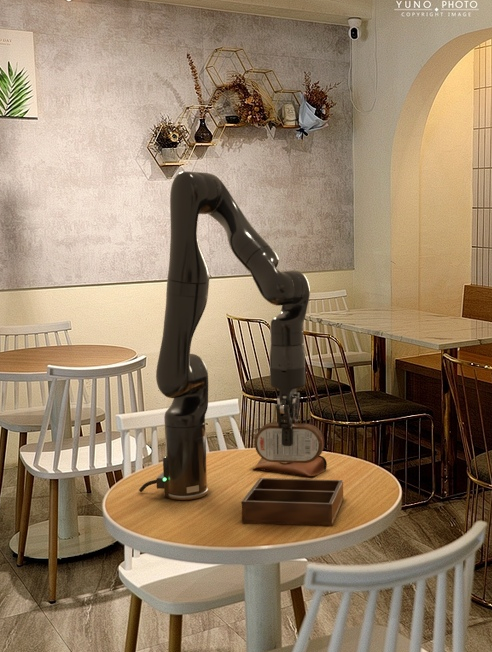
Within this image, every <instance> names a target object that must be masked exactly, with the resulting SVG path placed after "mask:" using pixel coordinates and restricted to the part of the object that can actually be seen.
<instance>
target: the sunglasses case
mask: <svg viewBox="0 0 492 652" xmlns="http://www.w3.org/2000/svg"><path fill="white" fill-rule="evenodd" d="M327 467H328V463H327V459H326V457H324V456H322V455H320V456H318V457H317V458H316V459H315V460H314V461H312V462H309V463H287V462H269V461H266V460H264V459H263V458H262V457H260V460H259V461H258V462H257V464H256V465H255V466H254V467H253V468H252V470H257V471H258V470H259V471H266V472H270V473H271V472H272V473H279V474H284V475H289V476H290V475H291V476H299V477H315V476H318V475H320V474H323V473H324V472H326V470H327Z"/></svg>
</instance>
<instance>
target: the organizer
mask: <svg viewBox="0 0 492 652" xmlns="http://www.w3.org/2000/svg"><path fill="white" fill-rule="evenodd" d="M343 502H344V480H342V479H311V478H309V479H308V478H279V477H278V478H275V477H259V478H258V479H257V481H255V483H254V485H252V487H251V489H249V491H248V492H247V494H246V495H245V496H244V498H243V499H242V500H241V503H240V504H241V505H240V506H241V524H260V525H261V524H265V525H292V526H294V525H297V526H327V527H333V525H334V523H335V521H336V518H337V516H338V514H339V511H340V509H341V506H342V504H343Z"/></svg>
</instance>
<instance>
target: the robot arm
mask: <svg viewBox="0 0 492 652" xmlns="http://www.w3.org/2000/svg"><path fill="white" fill-rule="evenodd" d="M169 193H170V194H169V195H170V196H169V212H170V213H169V214H170V215H169V216H170V217H169V218H170V242H169V258H168V259H169V261H168V270H167V280H166V293H165V311H164V317H163V318H164V319H163V329H162V338H161V342H160V343H161V344H160V349H159V353H158V359H157V364H156V370H155V380H156V385H157V388H158V389H159V391H160V393H161V394H162V395H163V396H164V397H166V398H168V399H172V402H171V404H170V406H169V407H168V409H167V410H165V412H164V419H163V420H164V441H165V443H164V444H165V456H164V457H162V470H163V472H162V473H160V474H159V475H158V476H157V477H156V479H153V480H149V481H147V482H145V483H144V484H143V485H141V487H140V488H139V489H138V491H139V493H143V492H144V490H145V489H146V488H147V487H149V486H151V485H155V484H156V490H157V489H158V490H163V497H164V498H167V499H171V500H175V501H192V500H197V499H200V498H203V497H205V496H206V495H208V493H209V487H208V474H207V473H208V472H207V471H208V470H207V469H208V467H207V466H208V465H207V442H206V439H207V438H206V437H207V436H206V414H207V412H208V408H209V407H208V406H209V372H208V368H207V365H206V362H205V361H204V360H203V359H202V357H200V356H199V355H197V354H194V353H191V346H192V340H193V337H194V335H195V332H196V330H197V327H198V325H199V323H200V321H201V318H202V317H203V315H204V312H205V310H206V307H207V304H208V298H209V297H208V296H209V287H210V269H209V266H208V264H207V261H206V258H205V255H204V254H203V252H202V248H201V246H200V242H199V238H198V225H199V224H198V222H199V215H209V216H210V217H211V218H213V219H214V220H215V221H216V222H217V223H219V225H220V226H221V227H222V228H223V230H224V233H225V235H226V238H227V242H228V246H229V249H230V250H231V252H232V254H233V256H234V257H235V258H236V259H237V260H238V261H239V262H240V264H241V265H242V266H243V268H245V269H246V270H247V271H248V272H249V273H250V275H251V277H252V280H253V282H254V283H255V286H256V288H257V289H258V291H259V294H260V295H261V297H262V298H263V299H264V300H265V301H266V302H268V303H269V304H270V305H273V306H281V308H280V312H279V314H277V315H276V316H274V317H272V319H271V320H270V323H269V324H270V325H269V334H270V335H269V336H270V339H269V340H270V346H269V347H270V348H269V383H270V384H269V385H270V387H271V388H273V389H275V390H276V389H277V390H279V395H278V396H277V398H276V400H277V401H276V403H277V404H276V406H275V411H276V417H277V418H276V419H277V423H278V426H279V428H281V429H282V445H283V446H292V444H293V423H298V419H299V417H300V414H299V412H300V397H301V394H300V392H299V391H297V390H298V389H301V388H304V387H305V386H306V382H307V381H306V351H305V344H304V342H305V341H304V340H305V339H304V338H305V337H304V336H305V335H304V322H305V318H306V315H307V311H308V310H307V309H308V306H309V301H310V296H311V289H310V283H309V280H308V277H307V276H306V275H305V274H304V272H302V271H300V270H295V269H293V270H285V271H280V270H279V269H278V268H277V267H278V265H279V261H280V258H279V256H278V253H276V251H275V250H274V249H273V248H272V247H271V245H270V244H269V243H268V242H267V241H266V240H265V239H264V238H263V237H262V236H261V235H260V233H258V231H257V230H256V229H255V228H254V227H253V225H252V224H251V223H250V222H249V220H248V219H247V217H246V216H245V215H244V213H243V211H242V210H241V209H240V207H239V205H238V204H237V202H236V201H235V199H234V198H233V196H232V194H231V193H230V191H229V190H228V188H227V187H226V185H225V184H224V182H223V181H222V180H221V179H220V178H219V177H218V176H217V175H215V174H213V173H209V172H199V171H188V170H187V171H180V172H179V173H178V174H177V175H176V176H175V177H174V179H173V181H172V183H171V186H170V192H169Z"/></svg>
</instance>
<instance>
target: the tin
mask: <svg viewBox="0 0 492 652" xmlns="http://www.w3.org/2000/svg"><path fill="white" fill-rule="evenodd" d="M324 448H325V438H324V435H323V433H322V431H320V429H319V428H318V427H316V426H315V425H313V424H311V423H300V422H299V423H298V422H297V423H293V444H292V446H283V445H282V429H281V428H279V426H278V422H274V421H273V422H268V423H266V424H264V425H263V426H261V428H260V429H259V430H258V432H257V433H256V435H255V437H254V449H255V451H256V453H257V454H258V456H259V457H260V458H263V459H264V460H266V461H269V462H287V463H309V462H312V461H314V460H315V459H316V458H317V457H318V456H321V454H322V453H323V451H324Z"/></svg>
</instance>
